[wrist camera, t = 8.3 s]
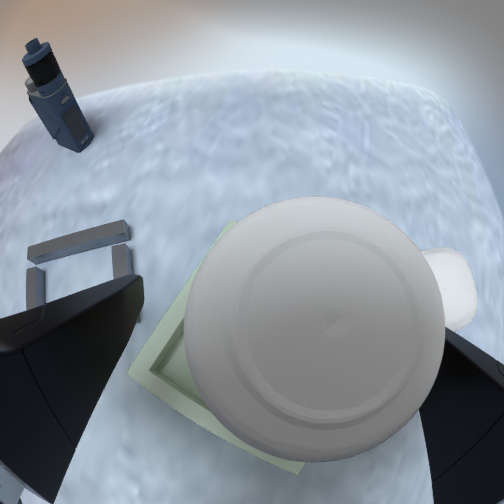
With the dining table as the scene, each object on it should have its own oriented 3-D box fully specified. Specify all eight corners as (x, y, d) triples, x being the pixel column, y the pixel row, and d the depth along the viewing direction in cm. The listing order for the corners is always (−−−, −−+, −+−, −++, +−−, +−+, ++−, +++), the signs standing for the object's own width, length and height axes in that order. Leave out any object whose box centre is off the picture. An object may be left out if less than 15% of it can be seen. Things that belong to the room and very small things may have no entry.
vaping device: (81, 156, 22) (24, 52, 11) (52, 142, 23) (0, 54, 12) (99, 135, 23) (52, 31, 12) (69, 124, 24) (24, 35, 13)
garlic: (380, 358, 17) (409, 355, 14) (360, 262, 20) (383, 240, 16) (463, 331, 18) (496, 322, 14) (444, 250, 20) (471, 230, 17)
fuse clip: (139, 322, 17) (133, 319, 16) (37, 338, 16) (28, 336, 15) (129, 227, 20) (123, 219, 19) (36, 252, 19) (27, 246, 18)
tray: (375, 315, 18) (389, 309, 16) (291, 464, 14) (297, 475, 13) (231, 233, 20) (231, 219, 18) (137, 373, 16) (125, 373, 14)
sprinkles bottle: (243, 303, 18) (249, 151, 5) (313, 330, 17) (467, 243, 5) (213, 373, 16) (129, 404, 4) (286, 401, 16) (407, 486, 3)
